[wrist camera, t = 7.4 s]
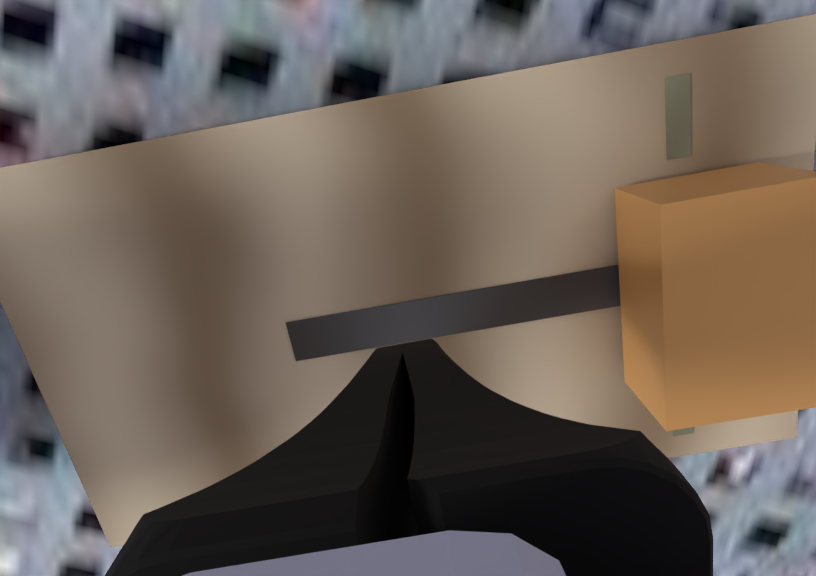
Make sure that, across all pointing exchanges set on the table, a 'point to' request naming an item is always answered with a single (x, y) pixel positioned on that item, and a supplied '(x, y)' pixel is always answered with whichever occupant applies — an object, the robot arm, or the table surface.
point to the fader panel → (372, 254)
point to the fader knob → (719, 293)
